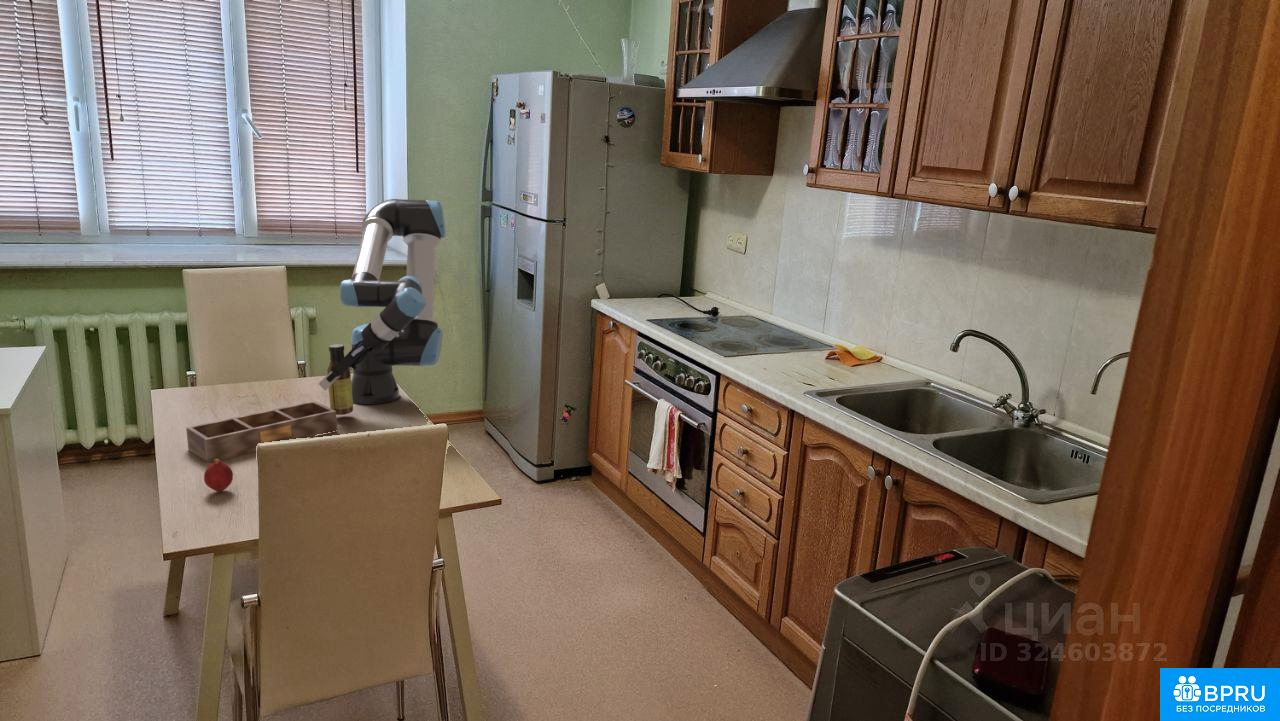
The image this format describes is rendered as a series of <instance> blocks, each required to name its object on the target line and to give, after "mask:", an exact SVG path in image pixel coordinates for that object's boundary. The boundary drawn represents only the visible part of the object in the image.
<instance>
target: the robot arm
mask: <svg viewBox="0 0 1280 721" xmlns="http://www.w3.org/2000/svg"><path fill="white" fill-rule="evenodd" d="M445 224H446V223H445V218H444V211H443V206H442V203H441V202H440V201H437V200H431V199H405V198H404V199H399V198H391V199H386V200H384V201H382V202H379V203H377V204H376V205H375V206H373V207H372V208H371V209H370V210H369V211H368V212H367V213H366V214H365V216H364V218H363V220H362V223H361V227H360V231H361V234H362V237H361V241H360V246H359V248H358V253H357V256H356V259H355V265H354V268H353V273H352V276H351V279H350V278H349V279H344V280H342V281H341V283H340V287H339V296H340V297H339V299H340V301H341V303H342V305H343V306H346V307H356V308H358V307H360V308H363V307H365V308H368V307H369V308H371V307H372V308H377V307H381V308H383V310H381V311H380V312H379V313H378V314H377V315H376V316H375V317H374V318H373V319H372V320H370V321H371V322H369V323H365V324H362V325H359V326H356V327H355V328H354V329H353V330H352V332H351V343H350V344H351V350H350V351H349V352H348V353H346V355H344V358H343V359H342V360H341V361H340V362H339V363H338V364H337V365H336V366H335V367H334V368H333V367H331V372H330V373H329V374H328V373H327V374H326V376H325V377H323V378H322V380H320V382H318V385H319V386H320V387H321V388H322V390H324V391H327V390H329V387H330V386H331V385H332V384H333V383H334V382H335V381H336V380H337V379H338V378H339V377H340V376H341V374H342V373H343V372H344V371H345V370H346V369H348V368H349V371H350V372H351V370H352V376H351V385H352V396H353V404H359V405H379V404H380V405H381V404H387V403H390V402H393V401H396V400H397V399H399V397H400V389H399V386H398V383H397V381H396V378H395V376H394V374H393V366H397V367H398V366H402V367H403V366H404V367H414V366H415V367H416V366H417V367H424V366H426V367H427V366H429V367H430V366H434V365H436V364H438V362H439V359H440V356H441V351H442V346H443V330H442V329H441V328H439V323H438V322H437V321H436V320H435V319H434V301H435V299H434V297H435V269H436V268H435V267H436V248H437V246H439V245H440V244H441V239H443V238H445V237H446V225H445ZM392 237H402V241H403V242H404V243H405V244H406V245H407V250H406V251H407V254H406V255H407V256H406V257H407V258H406V275H405V276H403V277H401V278H400V279H398V280H380V279H381V274H382V269H383V264H384V260H385V257H386V252H387V247H388V243H389V241H390V240H391V239H392Z"/></svg>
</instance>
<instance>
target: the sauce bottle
mask: <svg viewBox="0 0 1280 721" xmlns="http://www.w3.org/2000/svg"><path fill="white" fill-rule="evenodd" d="M328 351H329V355H330V359H329V360H330V363H329V365H328V367H327V369H326V372H327V375H328V374H329V373H330V372H331V367H333V368H334V367H335V366H336V365H337V364H338V363H339V362H340V361H341V360H342V359H343V358H344V357H345V353H344V352H345V345H344V344H342V343H336V344H335V343H334V344H330V345H328ZM351 380H352V375H351V371H349V368H348V369H346V370H345V371H344V372H343V373H342V374H341V376H340V377H339V378H338V379H337V380H336V381H335V382H334V383H333V384H332V385H331V386H330V387H329V388H328V397H329V408H331V409H333V410H335V411H336V416H337V415H338V416H340V415H341V416H343V415H348V414H351V413H352V412H353V410H354V402H353V396H352V385H351Z"/></svg>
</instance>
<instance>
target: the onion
mask: <svg viewBox="0 0 1280 721" xmlns="http://www.w3.org/2000/svg"><path fill="white" fill-rule="evenodd" d="M233 480H234V473H233V469H232V468H231V467H230V466H229V465H228V463H225V462H223V461H221V460H219V459H215V460H214V461H213V462H212V463H210V464H209V466H207V468H206V469H205V472H204V474H203V481H204V483H205V485H206V487H208V488H210V489H212V490H213V491H215V492H217V493H222V492H223V491H225V490H226V489H227V488H229V487H230V486H231V484H232V482H233Z"/></svg>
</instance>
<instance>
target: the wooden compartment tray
mask: <svg viewBox="0 0 1280 721" xmlns="http://www.w3.org/2000/svg"><path fill="white" fill-rule="evenodd" d="M185 428H186V430H185V431H186V440H187V448H188V449H189V450H190V451H189V450H188V451H189V452H191V453H192V452H193V453H192V454H194V455H195V454H196V455H195V456H197V457H198V456H199V458H200V459H201V458H202V459H201V460H203V461H204V460H205V462H206V463H207V462H208V464H209V462H210V463H214V462H213V461H214V460H215V459H219V460H220V461H221V460H226V459H229V458H230V459H231V458H234V457H237V456H238V457H239V456H243V455H247V454H250V453H254V452H257V451H256V446H257V444H258V443H264V442H272V441H280V440H289V439H296V438H307V437H313V438H316V437H315V435H317V434H323V433H328V432H333V431H336V430H337V431H338V421H337V415H336V411H335V410H333V409H331V408H330V407H328V406H326V405H324V404H321V403H320V402H317V401H315V400H312V401H308V402H307V401H306V402H302V403H298V404H297V403H296V404H293V405H287V406H284V407H279V408H274V409H269V410H264V411H259V412H254V413H249V414H245V415H240V416H235V417H229V418H226V419H220V420H217V421H215V420H214V421H212V422H207V423H202V424H197V425H191V426H186V427H185ZM321 436H323V435H318V436H317V437H321Z"/></svg>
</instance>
